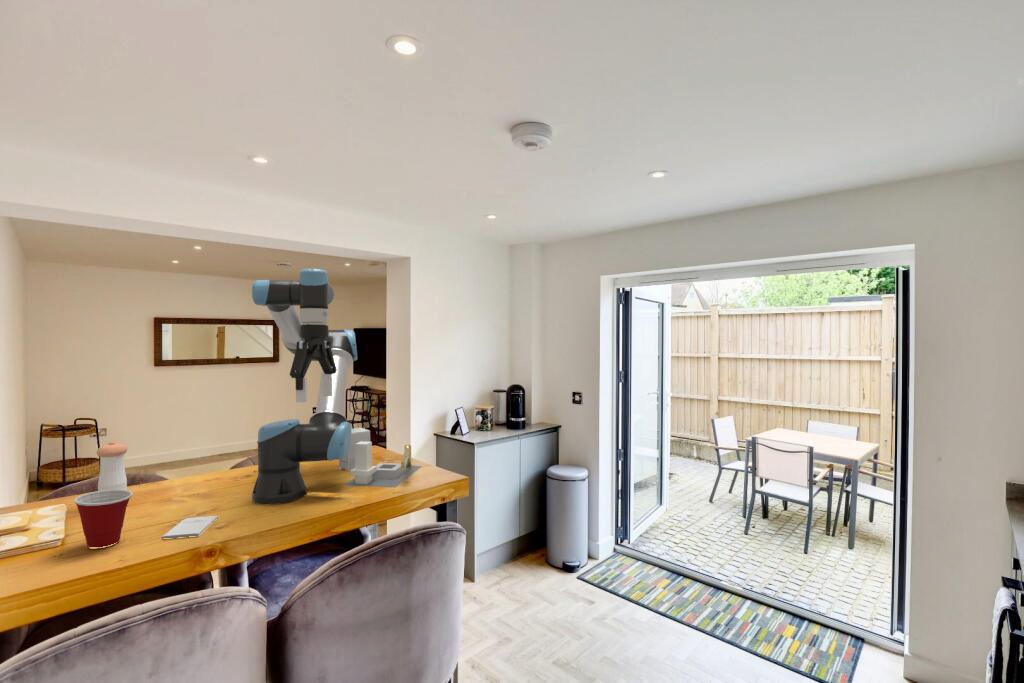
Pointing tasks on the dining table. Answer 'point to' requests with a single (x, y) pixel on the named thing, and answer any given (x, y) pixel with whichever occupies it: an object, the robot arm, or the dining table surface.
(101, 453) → the pepper shaker
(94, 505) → the plastic cup
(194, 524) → the external hard drive
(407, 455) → the clip
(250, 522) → the dining table surface
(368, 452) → the plug
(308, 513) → the dining table surface
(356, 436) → the supplement box
